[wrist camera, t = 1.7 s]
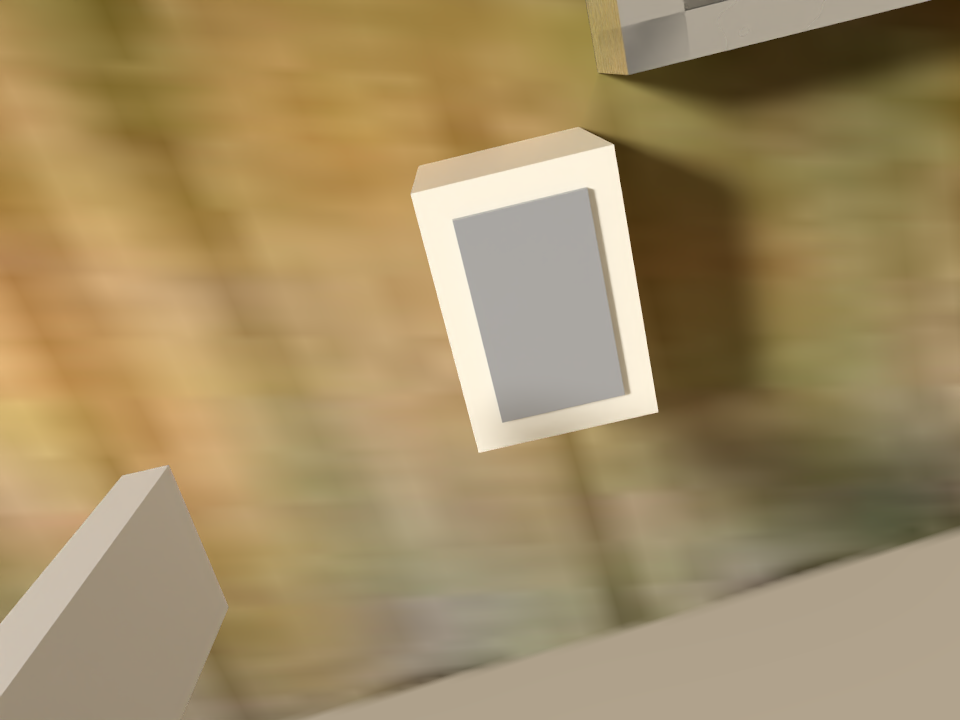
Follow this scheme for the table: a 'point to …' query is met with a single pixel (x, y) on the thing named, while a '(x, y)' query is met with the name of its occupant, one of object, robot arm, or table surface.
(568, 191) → the white block
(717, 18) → the tray
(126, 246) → the table surface
